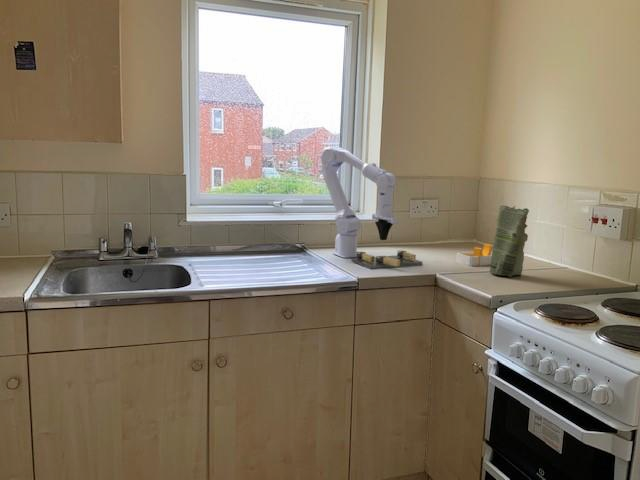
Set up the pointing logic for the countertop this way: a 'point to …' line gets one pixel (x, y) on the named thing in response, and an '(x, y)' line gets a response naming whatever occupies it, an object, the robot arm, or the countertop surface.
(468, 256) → the parts bin frame
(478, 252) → the pipe clamp
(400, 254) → the far knob
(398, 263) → the near knob
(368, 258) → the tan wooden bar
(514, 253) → the pouch
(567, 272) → the countertop surface
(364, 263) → the levelling plate
